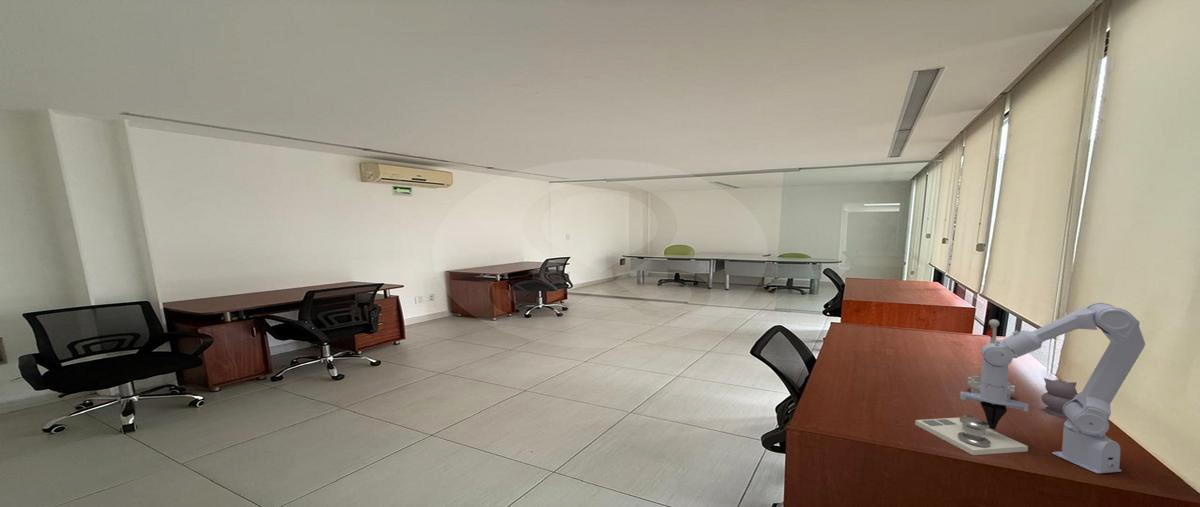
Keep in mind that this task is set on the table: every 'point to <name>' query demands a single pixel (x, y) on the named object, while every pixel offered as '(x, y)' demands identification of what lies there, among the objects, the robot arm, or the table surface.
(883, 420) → the table surface
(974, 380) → the flag stand
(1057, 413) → the grey wavy vase
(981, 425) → the capstan
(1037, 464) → the table surface
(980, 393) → the robot arm
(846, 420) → the table surface
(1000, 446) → the stand
